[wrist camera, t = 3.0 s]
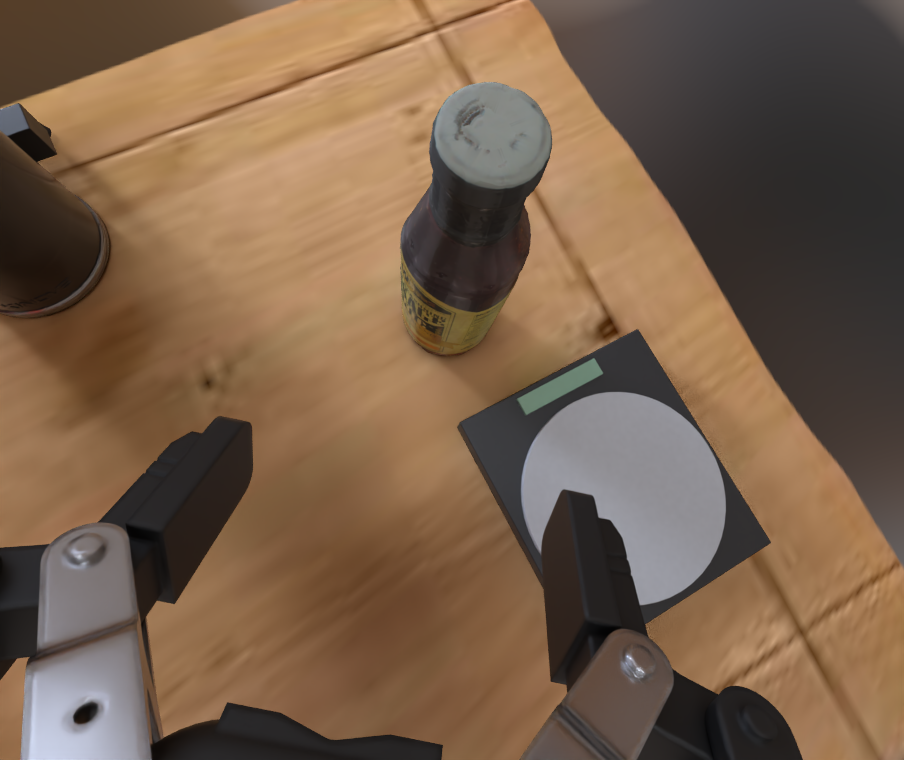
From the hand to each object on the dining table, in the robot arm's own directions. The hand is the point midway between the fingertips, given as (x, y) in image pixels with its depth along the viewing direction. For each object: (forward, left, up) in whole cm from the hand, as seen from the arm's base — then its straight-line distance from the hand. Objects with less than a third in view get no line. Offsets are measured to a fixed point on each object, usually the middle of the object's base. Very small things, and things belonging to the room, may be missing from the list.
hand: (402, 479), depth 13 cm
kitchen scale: (+6, +12, -21) cm, 24 cm away
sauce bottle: (-9, +8, -21) cm, 24 cm away
